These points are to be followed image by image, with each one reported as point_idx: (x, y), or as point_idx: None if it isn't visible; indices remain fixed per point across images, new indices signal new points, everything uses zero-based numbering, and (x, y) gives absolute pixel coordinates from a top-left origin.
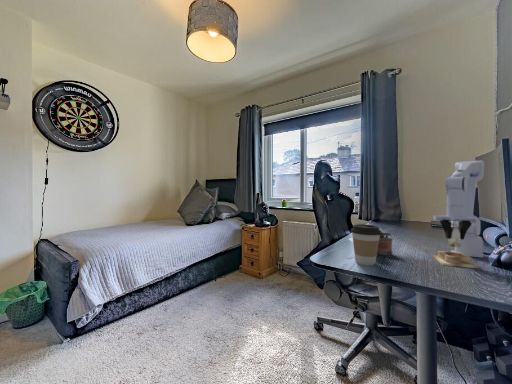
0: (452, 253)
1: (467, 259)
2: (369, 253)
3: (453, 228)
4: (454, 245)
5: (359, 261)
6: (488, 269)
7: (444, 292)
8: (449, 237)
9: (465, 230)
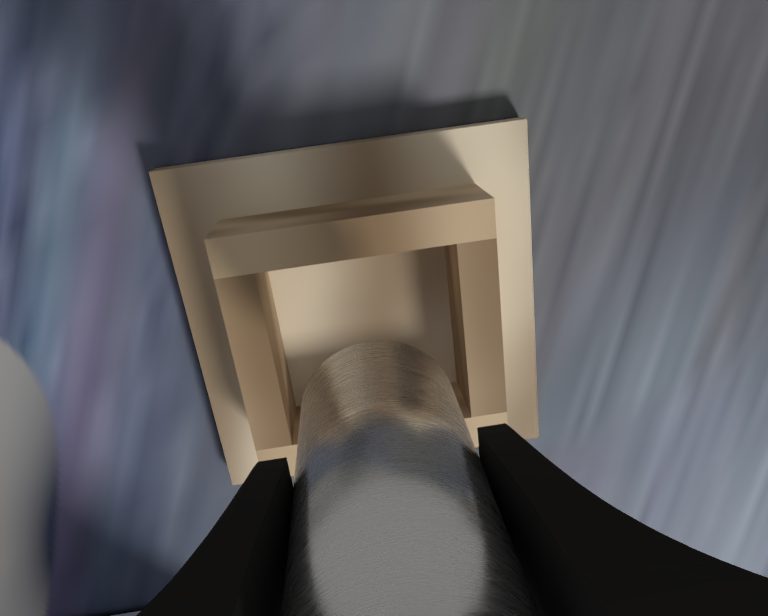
0: None
1: (258, 228)
2: None
3: (483, 575)
4: (397, 352)
5: None
6: (78, 180)
7: None
8: (493, 433)
9: (197, 585)
